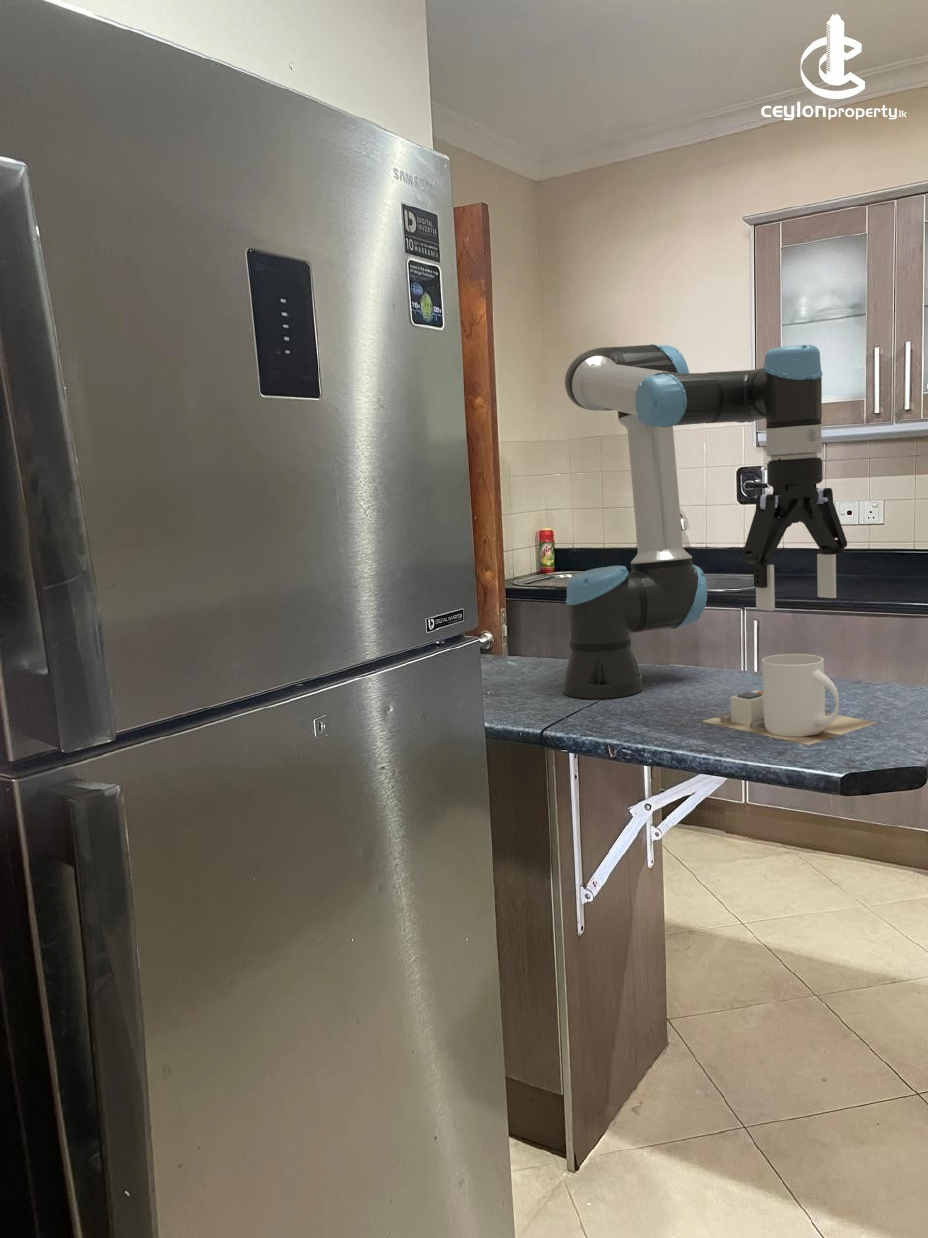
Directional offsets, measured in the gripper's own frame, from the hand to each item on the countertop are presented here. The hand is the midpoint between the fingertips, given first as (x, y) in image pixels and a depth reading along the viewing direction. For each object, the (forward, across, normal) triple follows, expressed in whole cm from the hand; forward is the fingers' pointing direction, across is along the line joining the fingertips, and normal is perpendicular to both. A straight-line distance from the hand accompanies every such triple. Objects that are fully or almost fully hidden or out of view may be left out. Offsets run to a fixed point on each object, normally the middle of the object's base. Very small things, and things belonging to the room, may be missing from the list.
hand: (797, 603), depth 137 cm
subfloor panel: (+20, +1, +3) cm, 20 cm away
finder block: (+19, -2, +7) cm, 20 cm away
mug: (+19, -2, -2) cm, 19 cm away
